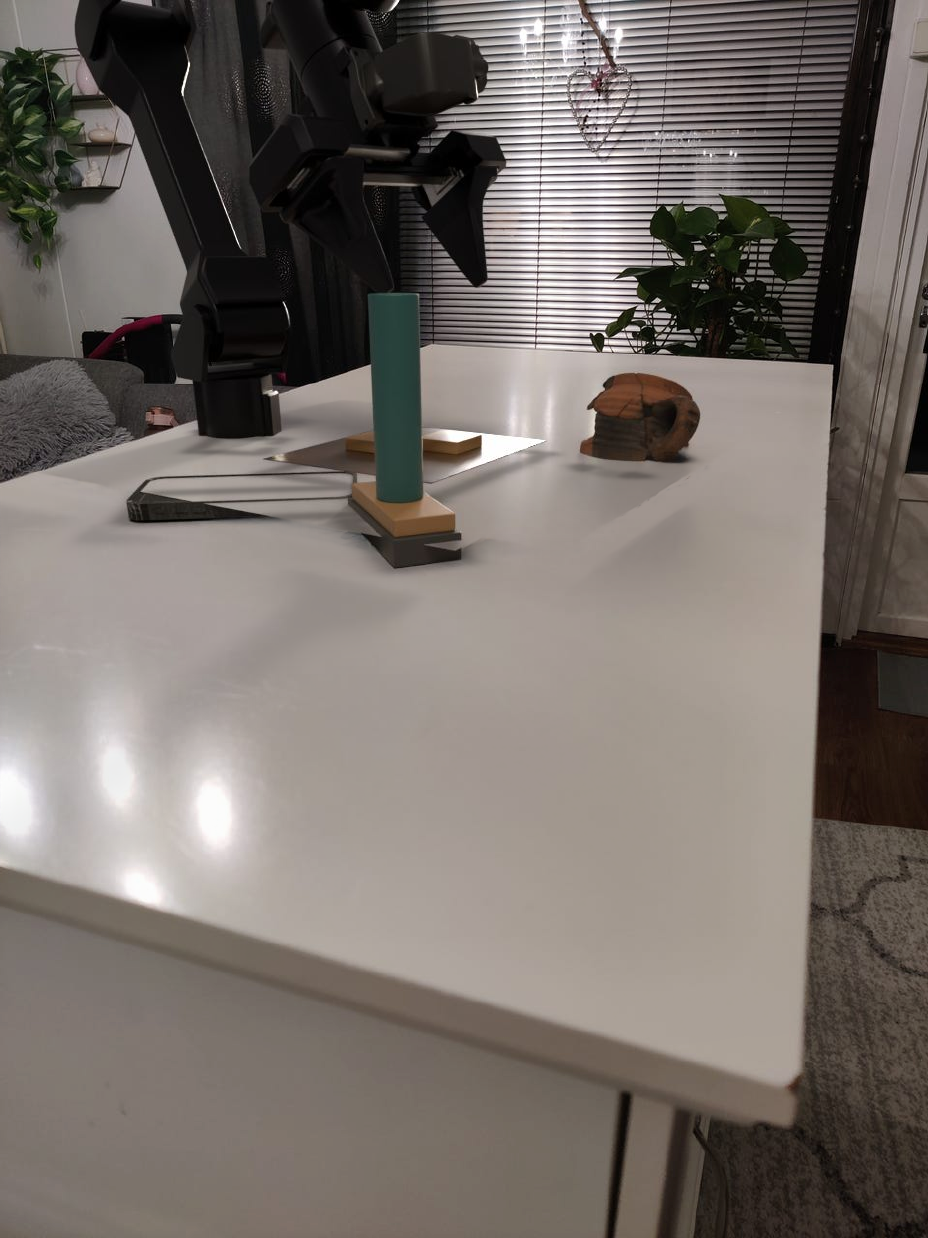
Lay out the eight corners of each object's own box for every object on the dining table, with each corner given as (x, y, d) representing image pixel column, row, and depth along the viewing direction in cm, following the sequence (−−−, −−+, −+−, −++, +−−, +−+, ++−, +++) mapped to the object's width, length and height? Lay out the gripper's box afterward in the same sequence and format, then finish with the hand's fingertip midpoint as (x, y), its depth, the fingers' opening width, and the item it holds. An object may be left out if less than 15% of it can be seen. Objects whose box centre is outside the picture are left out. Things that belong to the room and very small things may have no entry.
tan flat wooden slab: (415, 449, 72) (415, 437, 72) (442, 441, 75) (442, 429, 75) (457, 454, 70) (456, 442, 70) (482, 446, 73) (482, 434, 73)
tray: (264, 473, 70) (262, 458, 69) (396, 436, 84) (395, 424, 83) (431, 499, 62) (431, 483, 61) (546, 454, 76) (546, 440, 76)
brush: (348, 521, 57) (335, 291, 51) (407, 515, 58) (400, 290, 53) (394, 568, 48) (384, 297, 43) (461, 559, 50) (460, 296, 44)
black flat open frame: (148, 476, 63) (356, 470, 65) (150, 492, 64) (357, 485, 65) (121, 505, 56) (357, 496, 58) (124, 521, 56) (358, 513, 58)
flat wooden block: (345, 449, 72) (344, 437, 72) (374, 441, 75) (374, 430, 75) (384, 454, 70) (384, 442, 70) (412, 446, 73) (412, 434, 73)
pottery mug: (547, 467, 73) (573, 374, 74) (630, 505, 78) (654, 417, 79) (644, 455, 63) (673, 347, 63) (732, 499, 68) (759, 398, 68)
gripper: (290, -65, 45) (413, 217, 46) (512, -3, 58) (605, 217, 59) (199, 85, 53) (304, 323, 54) (412, 110, 66) (494, 302, 67)
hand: (437, 288), depth 58 cm, fingers open, 9 cm apart
